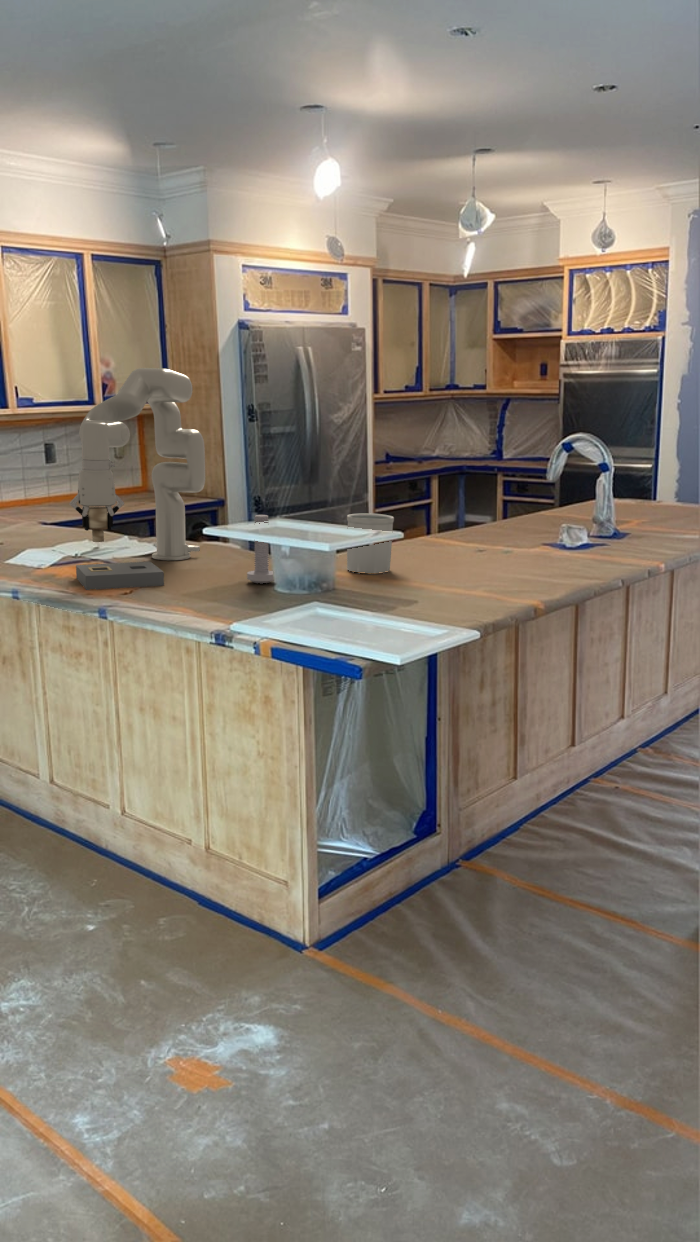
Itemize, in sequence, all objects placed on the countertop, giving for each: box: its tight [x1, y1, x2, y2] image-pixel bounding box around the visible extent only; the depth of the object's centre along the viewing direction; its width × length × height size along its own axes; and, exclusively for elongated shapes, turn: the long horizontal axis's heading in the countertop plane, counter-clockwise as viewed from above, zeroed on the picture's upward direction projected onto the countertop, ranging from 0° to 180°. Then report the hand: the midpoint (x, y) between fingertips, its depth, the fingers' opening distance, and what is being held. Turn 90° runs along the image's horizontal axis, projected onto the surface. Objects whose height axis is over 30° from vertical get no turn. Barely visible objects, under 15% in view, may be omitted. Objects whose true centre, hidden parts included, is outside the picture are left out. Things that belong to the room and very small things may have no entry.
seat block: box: [75, 561, 165, 591], centre depth 294 cm, size 22×18×4 cm
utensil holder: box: [346, 512, 395, 573], centre depth 318 cm, size 15×15×18 cm
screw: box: [246, 514, 274, 585], centre depth 295 cm, size 8×8×20 cm
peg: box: [87, 506, 108, 543], centre depth 288 cm, size 6×6×10 cm
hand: (97, 529), depth 288 cm, fingers closed on peg, 5 cm apart
